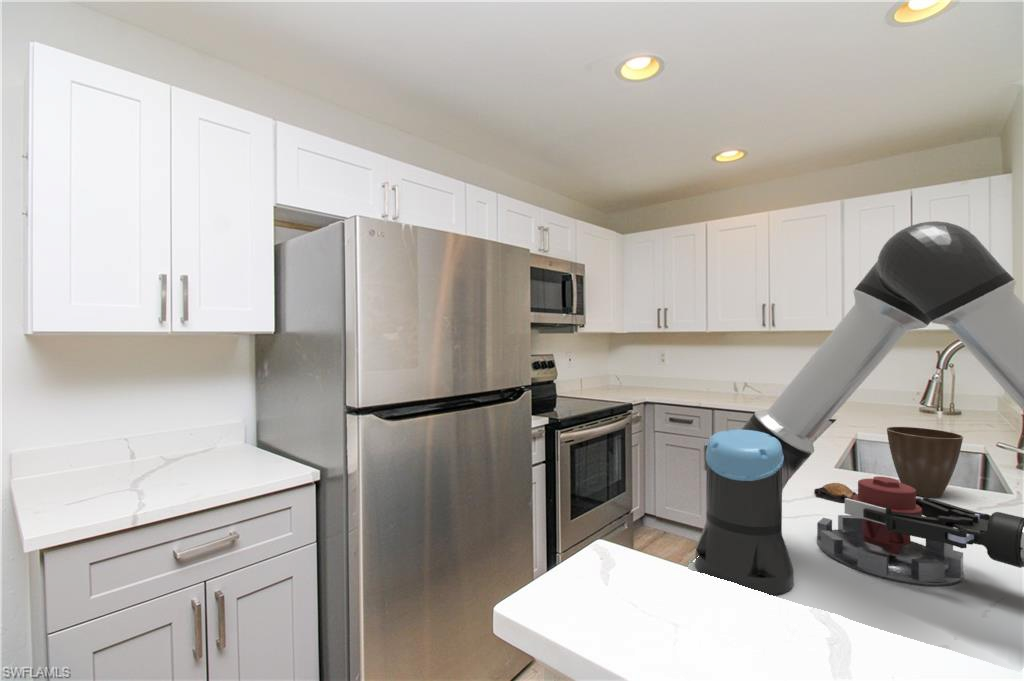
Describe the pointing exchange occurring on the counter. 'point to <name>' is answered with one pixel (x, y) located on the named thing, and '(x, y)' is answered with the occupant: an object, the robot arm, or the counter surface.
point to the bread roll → (834, 492)
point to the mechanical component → (885, 495)
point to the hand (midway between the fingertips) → (858, 500)
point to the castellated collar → (890, 555)
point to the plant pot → (924, 458)
